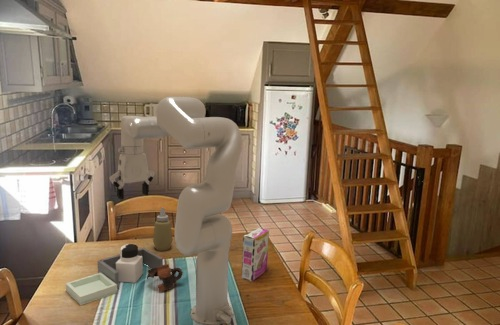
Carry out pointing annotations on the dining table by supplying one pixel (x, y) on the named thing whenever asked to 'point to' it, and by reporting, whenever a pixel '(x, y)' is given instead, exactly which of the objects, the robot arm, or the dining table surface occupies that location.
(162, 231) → the squeeze bottle
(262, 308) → the dining table surface
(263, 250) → the candy bar box
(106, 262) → the bay
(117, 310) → the dining table surface
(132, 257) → the medicine bottle
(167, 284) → the brown mug
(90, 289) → the tray
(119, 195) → the robot arm
